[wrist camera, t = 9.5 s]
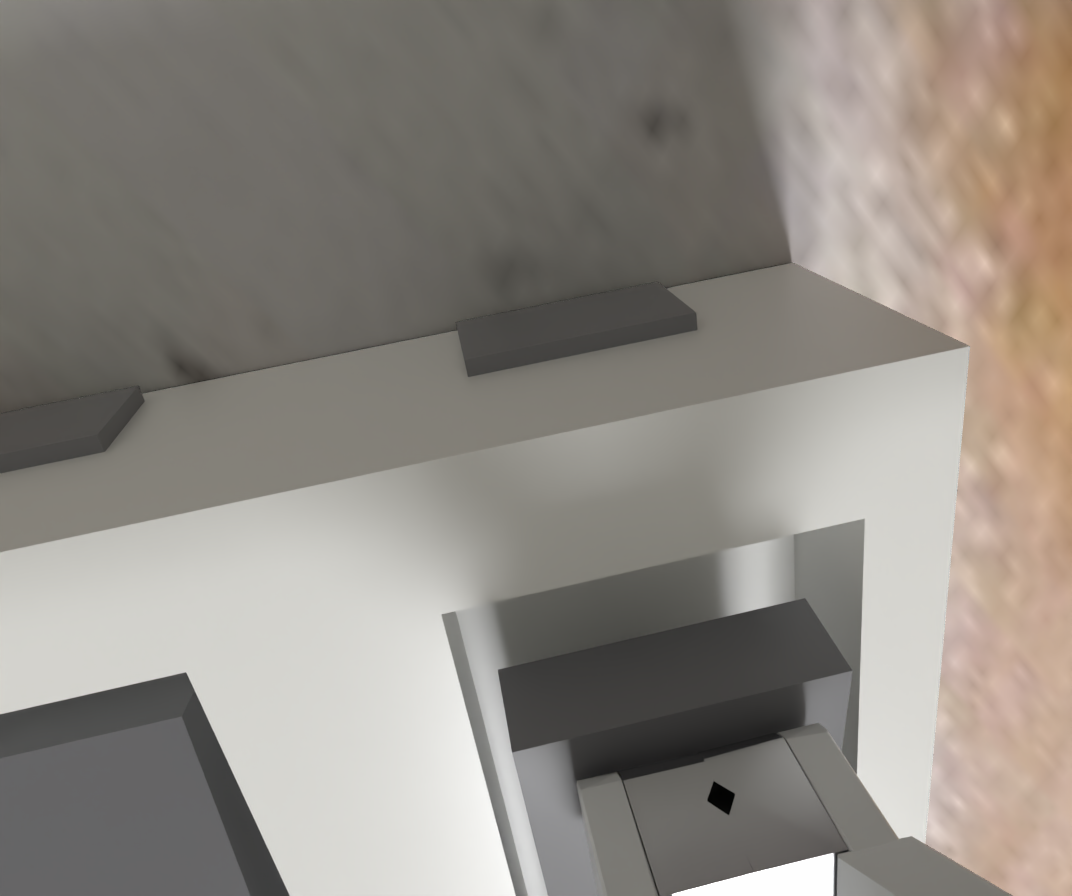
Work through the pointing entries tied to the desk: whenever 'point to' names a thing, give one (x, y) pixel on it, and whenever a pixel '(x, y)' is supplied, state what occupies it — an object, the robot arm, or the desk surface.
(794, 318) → the switch strip
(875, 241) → the desk surface
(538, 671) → the rocker
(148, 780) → the middle rocker
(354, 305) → the desk surface
